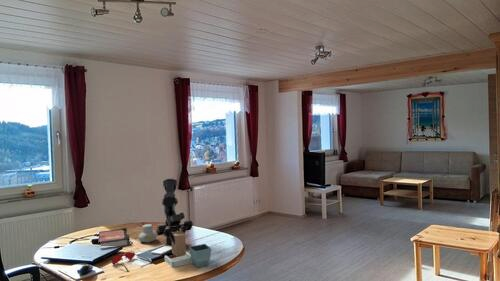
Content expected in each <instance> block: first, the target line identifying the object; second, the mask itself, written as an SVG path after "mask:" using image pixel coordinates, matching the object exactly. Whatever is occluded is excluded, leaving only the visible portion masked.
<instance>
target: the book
mask: <svg viewBox="0 0 500 281" xmlns="http://www.w3.org/2000/svg"><path fill="white" fill-rule="evenodd" d="M127 231H128V230H127V227H121V228H119V229H110V230H101V231H99V233H98V234H99V235H98V239H97V240H98V241H97V242H98V243H99V242H100V244H101V246H120V247H125V246H130V245H131V243H130V242H131V240H130V238H131V237H130V236H128V232H127ZM100 244H99V245H100Z"/></svg>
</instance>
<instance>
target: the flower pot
mask: <svg viewBox="0 0 500 281" xmlns="http://www.w3.org/2000/svg"><path fill="white" fill-rule="evenodd" d="M188 248H189V254H190V255H191V258H192V261H193V262H194V263H193V264H194V265H195V266H196V268H200V267H205V266H208V264H210V262H211V257H212V256H211V255H212V248H211V247H210V246H209V245H207V243H202V244H198V245H191V246H189V247H188Z"/></svg>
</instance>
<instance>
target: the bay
mask: <svg viewBox="0 0 500 281" xmlns="http://www.w3.org/2000/svg"><path fill="white" fill-rule="evenodd" d="M164 262H166V264H168V265H169V266H170V267H171V268H176V267H179V266H184V265H188V264H192V263H193V264H194V262H193V261H192V258H191V255H190V252H188V251H186V255H182V256H178V257H176V256H175V257H171V258H170V257H169V256H168V255H164Z"/></svg>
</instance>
